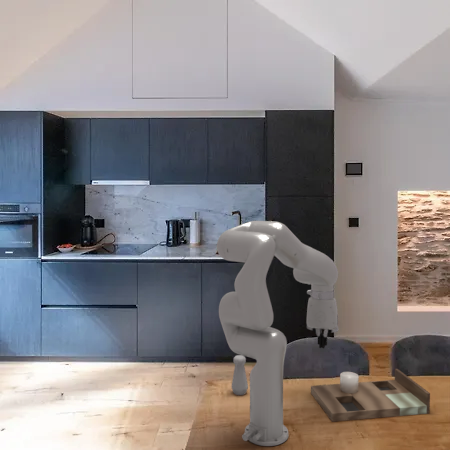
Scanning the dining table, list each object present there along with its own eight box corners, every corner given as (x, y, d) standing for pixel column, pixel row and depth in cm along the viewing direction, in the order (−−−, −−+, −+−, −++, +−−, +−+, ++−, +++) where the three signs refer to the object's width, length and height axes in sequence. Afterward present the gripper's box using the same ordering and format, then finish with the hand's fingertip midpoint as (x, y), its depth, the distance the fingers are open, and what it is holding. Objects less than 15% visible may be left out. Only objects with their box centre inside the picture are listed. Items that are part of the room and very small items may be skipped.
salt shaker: (248, 396, 158) (248, 359, 157) (231, 396, 158) (231, 359, 157) (247, 389, 163) (247, 353, 162) (231, 389, 164) (231, 353, 163)
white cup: (354, 394, 152) (355, 380, 152) (337, 390, 156) (337, 376, 156) (360, 388, 157) (360, 374, 157) (343, 384, 161) (343, 370, 160)
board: (332, 421, 140) (332, 400, 140) (310, 392, 160) (310, 374, 159) (429, 413, 145) (430, 393, 144) (397, 386, 165) (397, 368, 164)
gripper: (298, 295, 157) (298, 347, 158) (343, 298, 151) (343, 353, 152) (303, 290, 163) (303, 340, 165) (346, 293, 158) (346, 345, 159)
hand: (322, 346), depth 159 cm, fingers closed
